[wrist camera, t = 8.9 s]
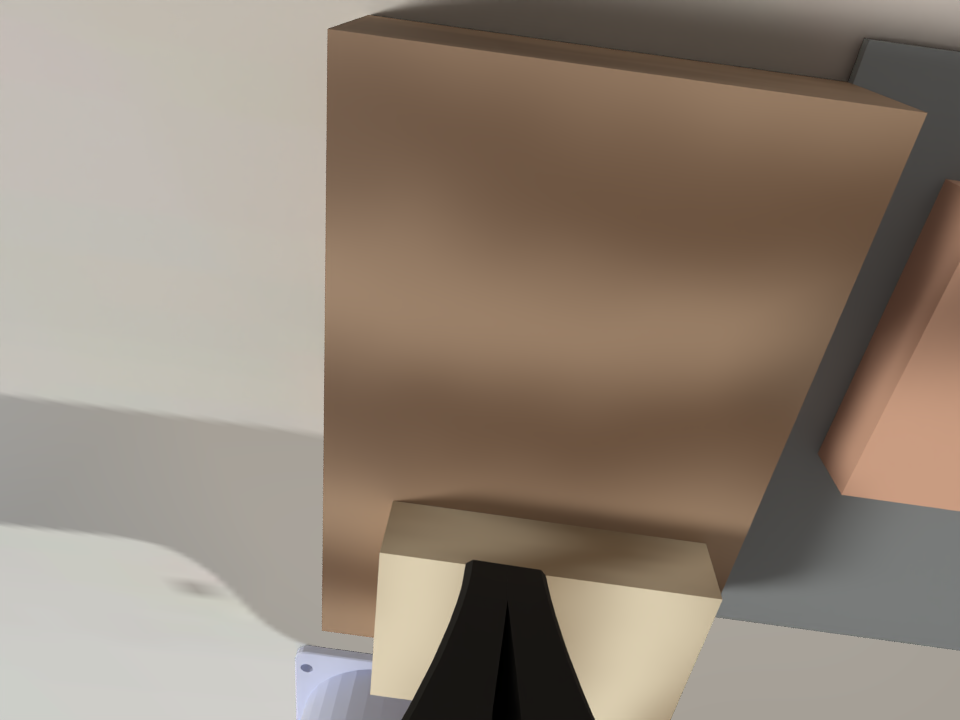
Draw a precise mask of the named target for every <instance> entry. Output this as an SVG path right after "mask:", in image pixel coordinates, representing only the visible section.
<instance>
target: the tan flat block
mask: <svg viewBox="0 0 960 720" xmlns="http://www.w3.org/2000/svg"><path fill="white" fill-rule="evenodd" d="M926 115H927V112H924V111H921V110H919V109H916V108H914V107H911V106H909V105H906V104H903V103H901V102H898V101H896V100H893V99H891V98H888V97H885V96H883V95H880V94H878V93H875V92H872V91H870V90H867V89H865V88H862V87H860V86H857V85H854V84H852V83H849V82H844V81H837V80H830V79H822V78H815V77H808V76H801V75H794V74H787V73H780V72H773V71H765V70H758V69H751V68H744V67H737V66H730V65H723V64H715V63H708V62H701V61H694V60H687V59H680V58H673V57H666V56H658V55H651V54H644V53H637V52H630V51H623V50H616V49H608V48H601V47H594V46H587V45H580V44H573V43H566V42H559V41H551V40H544V39H537V38H530V37H523V36H516V35H509V34H502V33H494V32H487V31H480V30H473V29H466V28H459V27H452V26H444V25H437V24H430V23H423V22H416V21H409V20H402V19H395V18H387V17H380V16H373V15H367V16H364V17H361V18H358V19H355V20H352V21H349V22H346V23H343V24H340V25H338V26H335V27H332V28H329V29H328V43H327V150H326V256H325V362H324V469H323V471H324V472H323V474H324V475H323V478H324V479H323V575H322V577H323V580H322V631H328V632H336V633H343V634H350V635H358V636H366V637H373V638H374V630H375V615H376V600H377V585H378V570H379V555H380V549H381V546H382V542H383V538H384V534H385V530H386V526H387V522H388V518H389V514H390V511H391V507H392V503H393V501H398V502H405V503H413V504H420V505H427V506H435V507H442V508H449V509H456V510H464V511H471V512H478V513H486V514H493V515H500V516H508V517H515V518H522V519H529V520H537V521H544V522H551V523H559V524H566V525H573V526H580V527H588V528H595V529H602V530H610V531H617V532H624V533H632V534H639V535H646V536H653V537H661V538H668V539H675V540H683V541H690V542H697V543H704V544H706V546H707V549H708V552H709V556H710V559H711V562H712V566H713V569H714V572H715V576H716V579H717V582H718V586H719V589H720V593H722V591H723V588H724V586H725V584H726V581H727V579H728V577H729V574H730V572H731V570H732V567H733V565H734V563H735V560H736V558H737V556H738V553H739V551H740V549H741V546H742V544H743V542H744V540H745V537H746V535H747V533H748V530H749V528H750V526H751V523H752V521H753V519H754V516H755V514H756V512H757V509H758V507H759V505H760V502H761V500H762V498H763V495H764V493H765V491H766V488H767V486H768V484H769V481H770V479H771V477H772V474H773V472H774V470H775V467H776V465H777V463H778V460H779V458H780V456H781V453H782V451H783V449H784V446H785V444H786V442H787V439H788V437H789V435H790V432H791V430H792V428H793V425H794V423H795V421H796V418H797V416H798V414H799V411H800V409H801V407H802V404H803V402H804V400H805V397H806V395H807V393H808V390H809V388H810V386H811V383H812V381H813V379H814V376H815V374H816V372H817V369H818V367H819V365H820V362H821V360H822V358H823V355H824V353H825V351H826V348H827V346H828V344H829V341H830V339H831V337H832V334H833V332H834V330H835V327H836V325H837V323H838V320H839V318H840V316H841V314H842V311H843V309H844V307H845V304H846V302H847V300H848V297H849V295H850V293H851V290H852V288H853V286H854V283H855V281H856V279H857V276H858V274H859V272H860V269H861V267H862V265H863V262H864V260H865V258H866V255H867V253H868V251H869V248H870V246H871V244H872V241H873V239H874V237H875V234H876V232H877V230H878V227H879V225H880V223H881V220H882V218H883V216H884V213H885V211H886V209H887V206H888V204H889V202H890V199H891V197H892V195H893V192H894V190H895V188H896V185H897V183H898V181H899V178H900V176H901V174H902V171H903V169H904V167H905V164H906V162H907V160H908V157H909V155H910V153H911V150H912V148H913V146H914V143H915V141H916V139H917V136H918V134H919V132H920V129H921V127H922V125H923V122H924V120H925V118H926Z"/></svg>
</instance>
